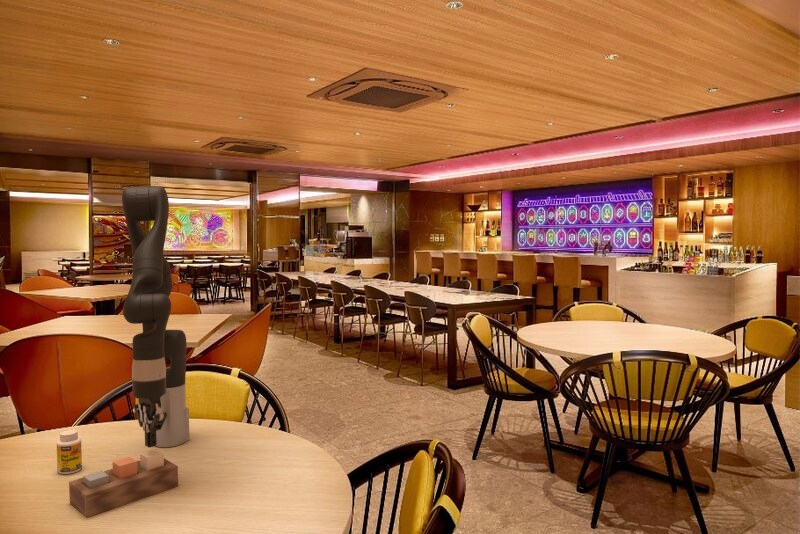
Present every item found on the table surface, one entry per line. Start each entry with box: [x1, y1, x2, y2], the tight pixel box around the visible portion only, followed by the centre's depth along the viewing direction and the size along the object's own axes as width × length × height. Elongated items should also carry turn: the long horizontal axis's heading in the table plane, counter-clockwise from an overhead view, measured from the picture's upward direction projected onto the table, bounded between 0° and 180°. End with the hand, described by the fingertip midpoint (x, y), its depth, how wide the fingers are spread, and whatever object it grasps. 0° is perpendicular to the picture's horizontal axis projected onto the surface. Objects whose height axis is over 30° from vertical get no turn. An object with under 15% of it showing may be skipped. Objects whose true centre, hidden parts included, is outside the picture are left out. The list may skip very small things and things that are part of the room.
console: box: [68, 458, 179, 518], centre depth 138 cm, size 21×10×5 cm, turn 138°
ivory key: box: [139, 448, 165, 471], centre depth 142 cm, size 4×4×4 cm
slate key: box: [82, 470, 109, 489], centre depth 133 cm, size 4×4×4 cm
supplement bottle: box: [56, 429, 83, 475], centre depth 150 cm, size 6×6×10 cm
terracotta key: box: [112, 456, 138, 480], centre depth 137 cm, size 4×4×4 cm
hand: (150, 446), depth 142 cm, fingers closed
